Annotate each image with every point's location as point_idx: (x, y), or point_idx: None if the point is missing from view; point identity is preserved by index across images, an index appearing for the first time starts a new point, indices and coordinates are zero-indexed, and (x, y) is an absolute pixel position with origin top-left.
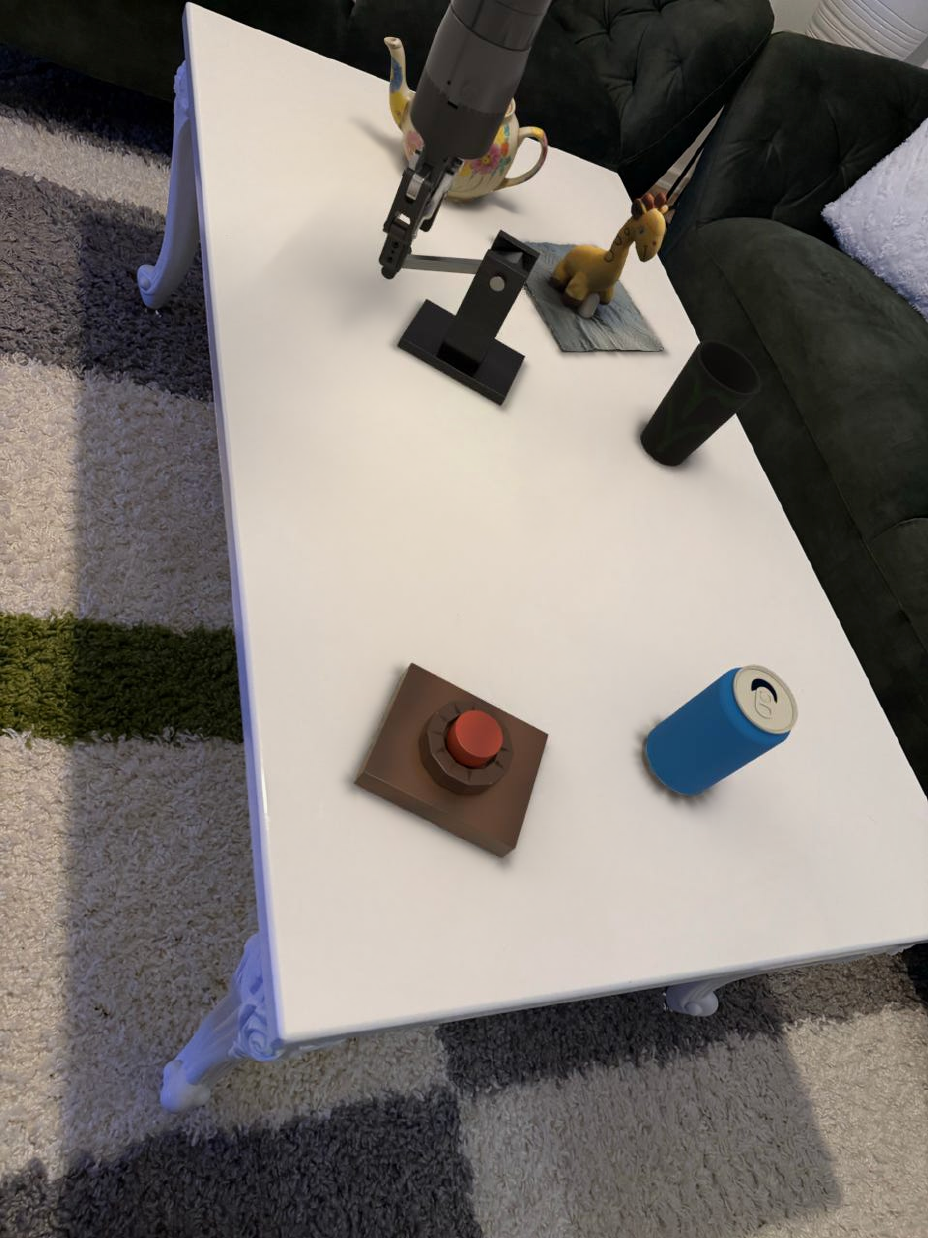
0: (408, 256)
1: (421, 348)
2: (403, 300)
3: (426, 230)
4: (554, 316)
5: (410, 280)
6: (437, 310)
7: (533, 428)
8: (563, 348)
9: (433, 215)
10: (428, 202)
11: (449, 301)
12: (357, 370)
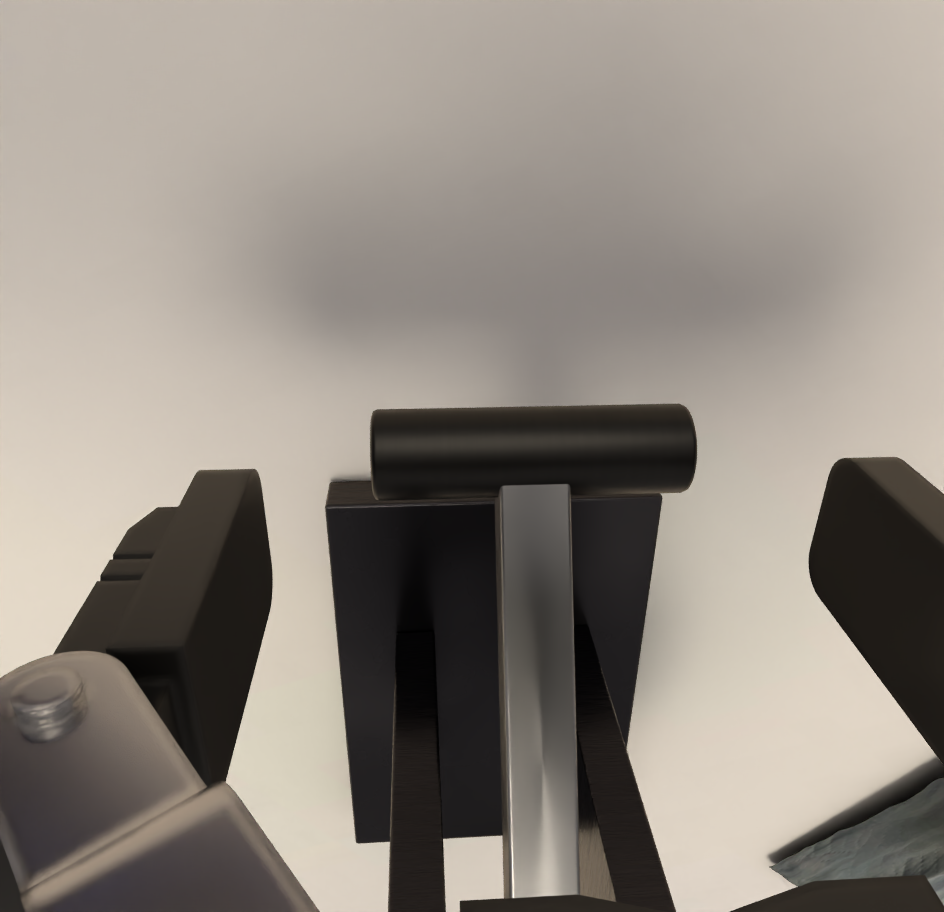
0: (538, 533)
1: (337, 586)
2: (632, 398)
3: (813, 572)
4: (918, 819)
5: (790, 372)
6: (617, 554)
7: (352, 888)
8: (776, 866)
9: (876, 658)
10: (939, 651)
11: (766, 536)
12: (53, 416)
